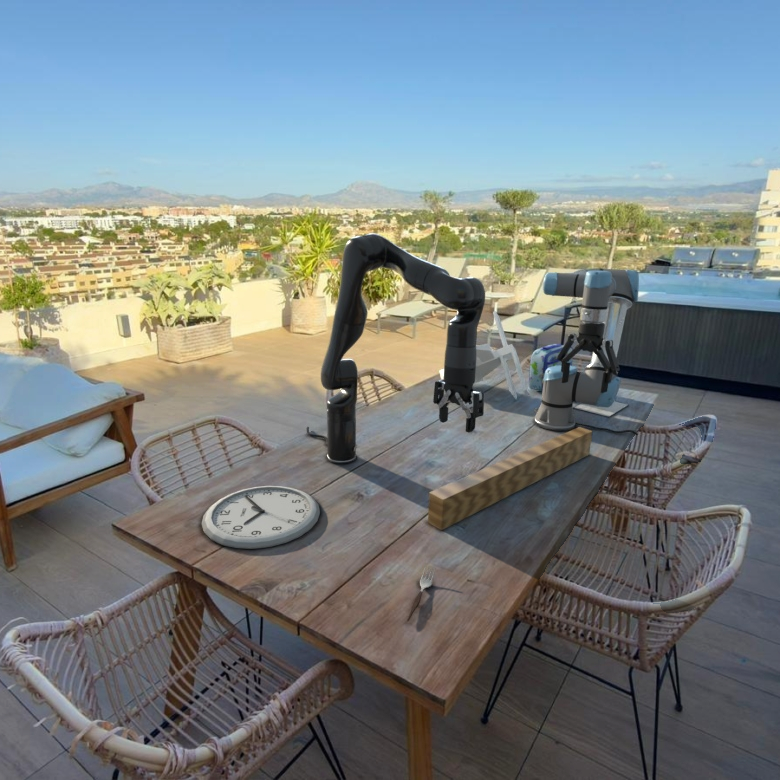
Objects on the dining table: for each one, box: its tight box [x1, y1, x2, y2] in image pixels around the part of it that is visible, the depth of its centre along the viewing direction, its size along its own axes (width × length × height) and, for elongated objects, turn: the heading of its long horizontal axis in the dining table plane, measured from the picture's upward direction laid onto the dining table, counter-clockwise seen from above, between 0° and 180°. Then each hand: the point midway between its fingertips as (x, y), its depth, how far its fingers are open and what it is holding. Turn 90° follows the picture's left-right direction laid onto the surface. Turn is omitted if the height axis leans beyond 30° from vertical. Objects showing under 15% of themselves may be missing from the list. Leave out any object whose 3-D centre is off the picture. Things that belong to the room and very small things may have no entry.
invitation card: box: [573, 401, 629, 418], centre depth 226 cm, size 21×1×15 cm
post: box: [427, 426, 593, 531], centre depth 155 cm, size 73×5×9 cm, turn 131°
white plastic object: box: [438, 310, 531, 400], centre depth 245 cm, size 37×45×31 cm
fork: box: [406, 565, 436, 622], centre depth 107 cm, size 3×16×2 cm, turn 160°
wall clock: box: [201, 485, 321, 550], centre depth 137 cm, size 30×2×30 cm
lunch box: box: [528, 343, 574, 392], centre depth 248 cm, size 26×11×21 cm, turn 134°
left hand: (456, 426), depth 129 cm, fingers open, 8 cm apart
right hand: (583, 387), depth 169 cm, fingers open, 13 cm apart
